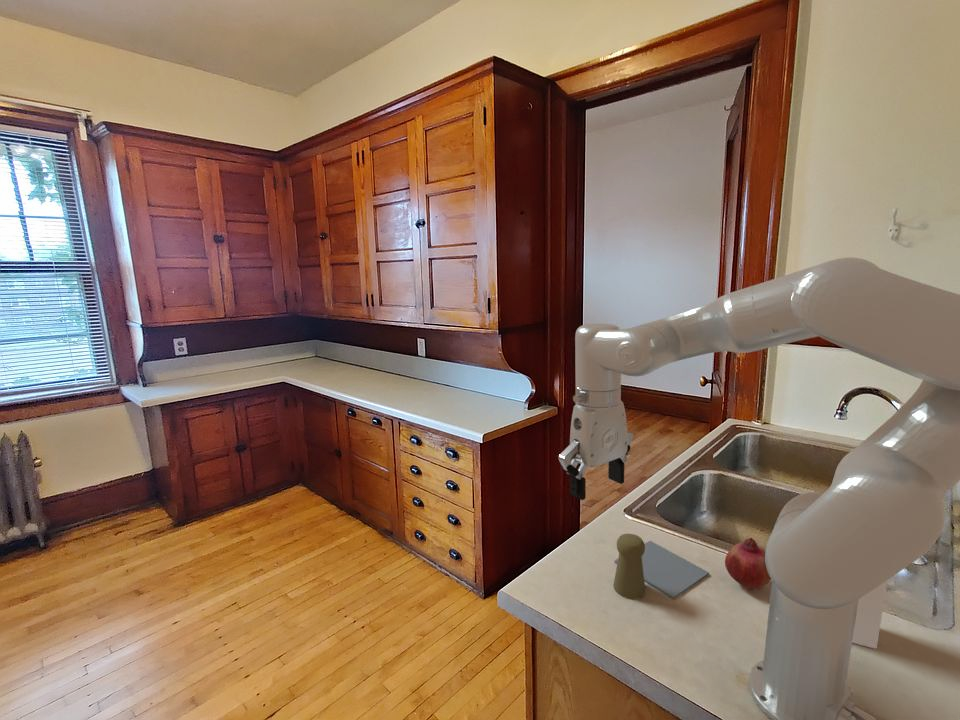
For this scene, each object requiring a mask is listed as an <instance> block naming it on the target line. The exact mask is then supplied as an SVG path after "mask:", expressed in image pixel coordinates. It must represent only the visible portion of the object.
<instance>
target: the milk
mask: <svg viewBox="0 0 960 720" xmlns="http://www.w3.org/2000/svg"><path fill="white" fill-rule="evenodd" d="M887 585H888V580H887V581H885V582H884V583H882V584H881V585H879V586H878V587H876V588H875V589H873V590H872V591H870V592H869V593H867V594H866V595H864V596H863V597H861V598H860V599H859V600H858V607H857V614H856V621H855V626H854V632H853V639H852V644H856V645H860V646H862V647H863V646H864V647H867V648H870V649H875V650H877V648H878V642H879V636H880V631H881V630H880V629H881V625H882V617H883V611H884V604H885V598H886V592H887V587H888V586H887Z"/></svg>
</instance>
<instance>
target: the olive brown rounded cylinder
mask: <svg viewBox="0 0 960 720" xmlns="http://www.w3.org/2000/svg"><path fill="white" fill-rule="evenodd" d="M616 550H617V552H618V557H617V559H618V563H617V564H616V569H615V574H614V579H613V589H614V591H615V593H616V594H617V595H619V596H621V597H622V598H625V599H628V600H629V599H630V600H637V599H641V598H642V597H644V596H645V595H646V585H645V584H646V582H644V573H643V564H642V556H643V554H644V551H645V542H644V539H642V537H640V536H639V535H637V534H634V533H623V534H621V535H620V536H619V537H618V538H617V540H616Z"/></svg>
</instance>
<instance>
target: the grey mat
mask: <svg viewBox="0 0 960 720" xmlns="http://www.w3.org/2000/svg"><path fill="white" fill-rule="evenodd" d="M644 544H645V551H644V554H643V556H642V564H643V573H644V582H645V584H647V585H649V586H651V587H653V588H654V589H655V590H656V591H659V592H660V593H661V594H664V596H666V597H668V598H670V599H671V600H675V599H676V598H678V597H680V596H681V595H682V594H683V593H685V592H686V591H688V590H689V589H690V588H692V587H694V586H696V584H698V583H700V582H701V581H702V580H704V579H705V578H707V577H709V575H710V572H709V571H707V570H705V569H704V568H702V567H700V566H697V565H696V564H695V563H692V562H690V561H688V560H687V559H685V558H683V557H681V556H679V555H677V554H675V553H674V552H672V551H670V550H668V549H667V548H664V547H663V546H661V545H659V544H657V543H655V542H653V541H651V540H649V541H647V542H644ZM617 563H618V558H616V559H615V560H614V564H616V565H617Z"/></svg>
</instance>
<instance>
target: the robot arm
mask: <svg viewBox="0 0 960 720" xmlns="http://www.w3.org/2000/svg"><path fill="white" fill-rule="evenodd" d="M817 337H820V338H821V339H823V340H826V341H828V342H830V343H832V344H835V345H837V346H838V347H841V348H843V349H846V350H848V351H850V352H852V353H855V354H858V355H860V356H862V357H865V358H868V359H869V360H872V361H875V362H878V363H879V364H883V365H885V366H887V367H889V368H892V369H895V370H896V371H899V372H902V373H904V374H906V375H909V376H911V377H913V378H917V379H919V380H922V381H921V382H920V385H919V386H918V388H917V389H916V391H914V392H913V394H912V395H911V397H909V399H908V400H906V402H905V403H904V404H903V405H902V406H900V407H899V408H898V409H897V410H896V411H895V412H894V413H893V415H892V416H891V417H889V418H888V419H887V420H886V421H885V422H883V424H882V425H880V426H879V427H878V428H877V429H875V431H874V432H872V434H870V435H869V436H868V437H867V438H865V439H864V440H863V441H862V442H861V443H859V444H858V445H857V446H856V447H854V448H853V449H851V451H849V452H848V453H847V454H845V456H843V457H842V459H841V460H840V462H839V463H838V465H837V467H836V469H835V472H834V475H833V479H832V482H831V484H830V486H829V487H828V489H827V490H825V491H824V492H821V491H820V492H819V491H811V492H804V493H802V494H798V495H796V496H795V497H793V498H792V499H790V500H789V501H788V502H787V503H786V504H785V505H784V506H783V508H782V509H781V511H780V512H779V514H778V517H777V519H776V521H775V523H774V526H773V530H772V532H771V533H770V536H769V538H768V540H767V544H766V546H765V547H766V548H765V550H764V551H765V563H766V568H767V571H768V574H769V576H770V578H771V580H770V581H771V587H770V596H769V606H768V607H769V608H768V615H767V625H766V626H767V627H766V633H765V634H766V635H765V644H764V645H765V646H764V655H763V660H762V661H759V662H757V663H756V664H755V665H754V666H753V667H752V668H751V671H750V672H749V680H748V683H749V690H750V693H751V696H752V697H753V699H754V701H755V703H756V704H757V705H758V706H759V708H760V709H761V710H762V711H763V712H764V713H765V715H766V716H767V717H768V718H769V719H771V720H877V718H876V717H874V716H873V715H871V714H870V713H868V712H867V711H864V710H862V709H860V708H858V707H857V706H856V703H854V702H853V701H852V698H853V692H854V691H853V689H852V688H850V687H848V686H847V680H848V671H849V664H850V658H851V651H852V644H853V643H852V639H853V632H854V626H855V621H856V614H857V607H858V600H859V599H860V598H861V597H863V596H864V595H866V594H867V593H869V592H870V591H872V590H873V589H875V588H876V587H878V586H879V585H881V584H882V583H884V582H885V581H887V582H888V580H890V579H891V578H892V577H894V576H895V575H897V574H899V572H902V571H903V570H905V569H906V568H907V567H909V566H910V565H912V564H913V563H915V562H916V561H917V560H918V559H920V558H921V557H923V556H924V555H925V554H926V553H927V552H928V551H929V550H930V549H931V548H932V547H933V546H934V545H935V544H936V542H937V540H938V539H939V537H940V536H941V533H942V532H943V529H944V526H945V516H946V513H945V505H944V498H945V495H946V494H947V493H948V492H949V491H950V490H951V489H953V487H954V486H955V485H956V484H958V483H959V482H960V294H958V293H956V292H951V291H950V290H949V291H948V290H945V289H942V288H939V287H936V286H932V285H929V284H926V283H923V282H920V281H918V280H917V281H916V280H914V279H911V278H907V277H904V276H902V275H899V274H897V273H893V272H891V271H888V270H885V269H882V268H880V267H879V266H878V265H876V264H875V263H873V262H872V261H869V260H866V259H864V258H859V257H840V258H835V259H831V260H828V261H825V262H822V263H820V264H816V265H814V266H810V267H807V268H804V269H801V270H797V271H795V272H791V273H789V274H784V275H783V276H780V277H775V278H772V279H770V280H767V281H764V282H760V283H757V284H754V285H751V286H747V287H744V288H741V289H739V290H735V291H732V292H729V293H726V294H724V295H721V296H719V297H718V298H716V299H714V300H713V301H710V302H709V303H706V304H703V305H702V306H698V307H695V308H693V309H689V310H686V311H683V312H679V313H677V314H673V315H670V316H666V317H662V318H660V319H656V320H652V321H651V322H646V323H643V324H639V325H635V326H632V327H627V328H622V329H621V328H619V326H617V325H615V324H612V323H603V322H601V323H599V322H598V323H587V324H586V323H585V324H583V325H580V326H578V328H577V329H576V331H575V337H574V342H575V343H574V346H575V349H574V350H575V351H574V352H575V353H574V354H575V356H574V358H575V362H574V363H575V365H574V366H575V371H574V372H575V394H574V395H573V396H572V400H573V403H575V405H574V406H573V410H572V414H571V421H570V434H569V445H568V446H567V447H566V448H565V449H564V450H563V451H562V452H561V453H560V454H559V455H558V456H557V458H558V461H559V463H560V465H561V468H562V470H564V471H565V473H566V474H567V475H569V493H570V495H571V496H572V497H575V498H577V499H579V500H580V501H583V500H586V496H587V495H586V494H587V493H586V492H587V491H586V488H587V487H586V478H585V477H584V475H585V472H586V471H587V469H588V467H589V468H596V467H598V466H601V465H604V464H606V463H608V467H607V468H608V470H607V471H608V472H607V473H608V474H607V475H608V476H607V477H608V479H609V480H611V481H613V482H616V483H617V484H620V485H622V484H624V483H625V463H626V462H627V460H628V457H627V456H628V453H629V452H630V450H631V445H632V442H633V438H634V434H633V433H631V432H628V424H627V423H628V422H627V421H628V420H627V415H626V408H625V405H624V402H623V401H622V400H621V396H622V393H621V392H622V388H621V387H622V375H623V376H624V375H625V376H629V377H635V378H636V377H644V376H647V375H649V374H650V373H652V372H654V371H656V370H659V369H661V368H662V367H664V366H667V365H668V364H672V363H676V362H678V361H683V360H686V359H690V358H694V357H699V356H702V355H708V354H714V353H719V352H732V353H736V354H745V353H747V354H748V353H753V352H758V351H761V350H766V349H769V348H773V347H777V346H781V345H786V344H791V343H795V342H798V341H804V340H808V339H813V338H817ZM579 464H580V466H579V467H578V469H577V466H578V465H579Z"/></svg>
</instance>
